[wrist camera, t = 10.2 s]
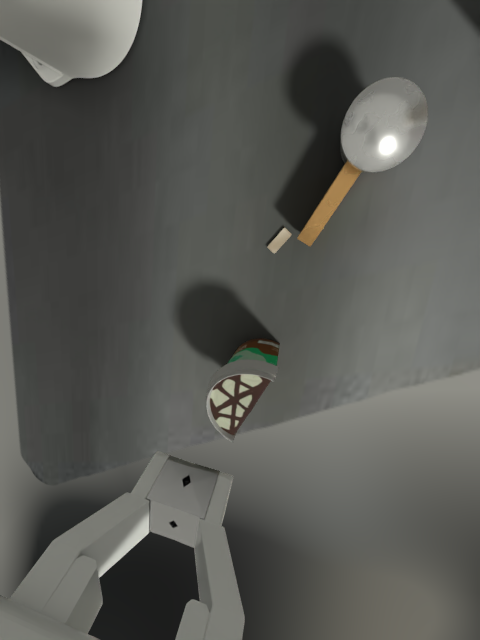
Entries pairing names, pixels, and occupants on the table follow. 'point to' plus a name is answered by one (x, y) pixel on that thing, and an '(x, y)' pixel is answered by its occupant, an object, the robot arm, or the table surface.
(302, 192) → the table surface
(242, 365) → the food container
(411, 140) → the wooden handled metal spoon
